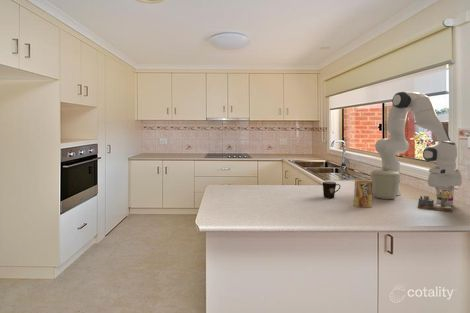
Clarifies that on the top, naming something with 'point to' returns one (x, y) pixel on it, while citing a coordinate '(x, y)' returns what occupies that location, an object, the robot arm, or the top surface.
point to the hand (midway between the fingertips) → (444, 194)
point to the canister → (385, 183)
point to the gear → (426, 201)
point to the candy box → (363, 193)
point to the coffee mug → (329, 189)
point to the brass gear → (444, 194)
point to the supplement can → (448, 201)
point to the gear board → (437, 205)
